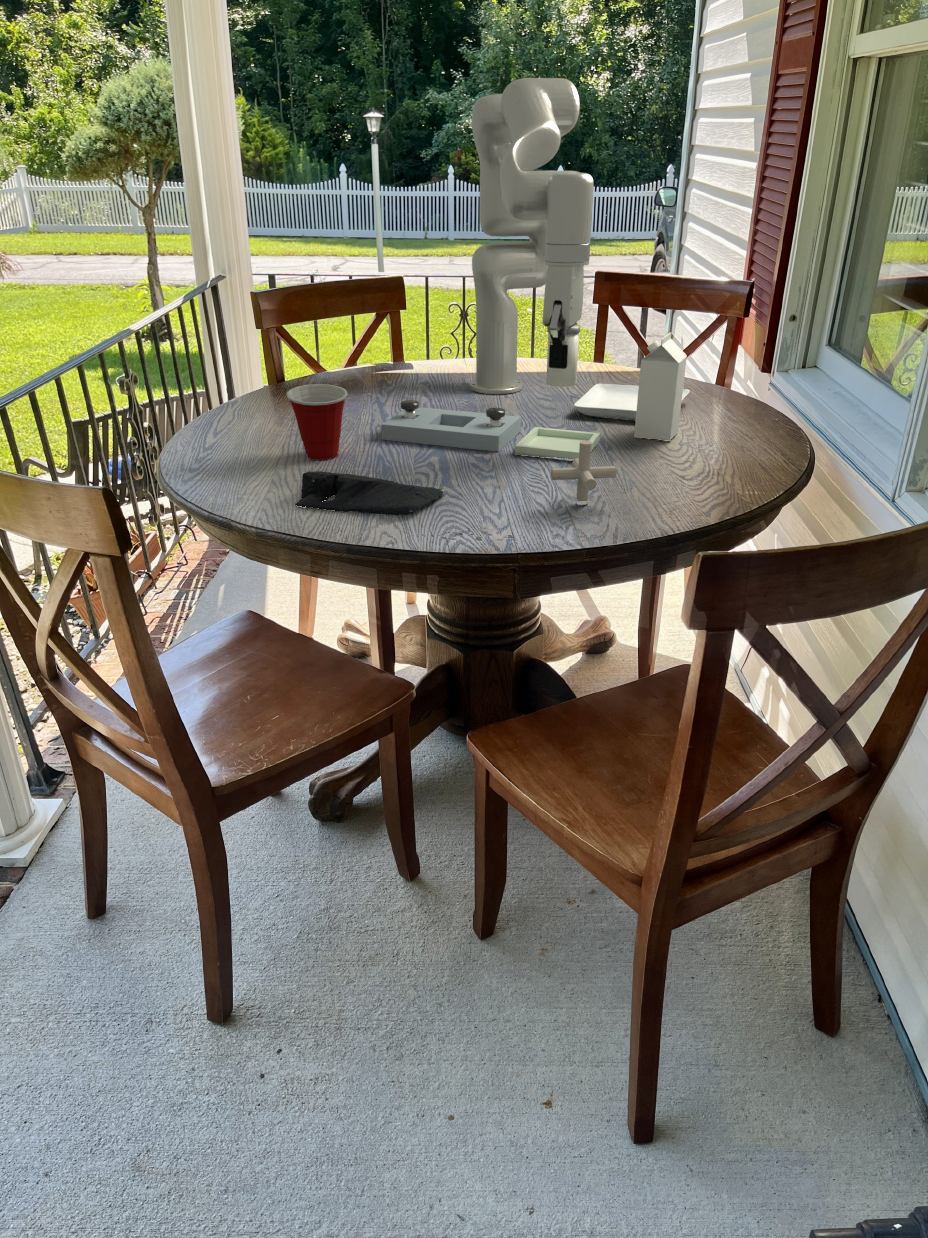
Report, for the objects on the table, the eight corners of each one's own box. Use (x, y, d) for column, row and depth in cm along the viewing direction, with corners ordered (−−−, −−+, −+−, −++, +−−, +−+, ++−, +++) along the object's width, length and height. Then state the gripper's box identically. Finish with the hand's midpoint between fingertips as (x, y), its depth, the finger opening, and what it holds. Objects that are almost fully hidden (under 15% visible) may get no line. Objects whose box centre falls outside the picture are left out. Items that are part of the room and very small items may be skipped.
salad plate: (570, 420, 177) (571, 403, 176) (595, 396, 195) (596, 381, 193) (672, 430, 170) (674, 413, 169) (688, 404, 188) (690, 388, 186)
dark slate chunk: (411, 528, 127) (410, 498, 125) (286, 509, 134) (282, 481, 132) (450, 495, 139) (450, 467, 137) (334, 479, 147) (332, 452, 144)
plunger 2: (489, 434, 166) (489, 406, 164) (507, 436, 165) (507, 408, 162) (483, 439, 163) (483, 411, 161) (501, 441, 162) (501, 413, 160)
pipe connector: (545, 493, 138) (547, 434, 133) (605, 491, 139) (610, 431, 134) (556, 516, 129) (559, 453, 124) (620, 514, 130) (625, 451, 125)
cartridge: (550, 378, 156) (552, 321, 152) (580, 380, 154) (584, 323, 150) (541, 385, 152) (543, 327, 147) (573, 387, 150) (576, 329, 145)
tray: (534, 435, 166) (535, 426, 166) (599, 442, 162) (600, 433, 162) (514, 455, 156) (514, 445, 155) (583, 462, 152) (584, 453, 151)
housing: (411, 420, 177) (410, 406, 175) (520, 431, 169) (521, 416, 168) (382, 439, 165) (381, 424, 164) (498, 451, 158) (498, 436, 156)
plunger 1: (406, 426, 172) (405, 399, 169) (422, 427, 171) (421, 400, 168) (398, 431, 169) (397, 403, 166) (415, 432, 168) (414, 405, 165)
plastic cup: (303, 468, 150) (296, 401, 144) (285, 452, 158) (278, 388, 153) (360, 459, 154) (356, 393, 149) (340, 443, 163) (335, 381, 157)
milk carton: (678, 432, 167) (689, 333, 158) (669, 442, 162) (681, 340, 153) (642, 428, 170) (652, 330, 161) (633, 438, 164) (642, 337, 155)
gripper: (558, 249, 151) (554, 353, 160) (531, 259, 137) (528, 372, 146) (600, 250, 149) (593, 356, 157) (576, 260, 135) (570, 376, 143)
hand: (562, 363), depth 151 cm, fingers closed on cartridge, 5 cm apart
